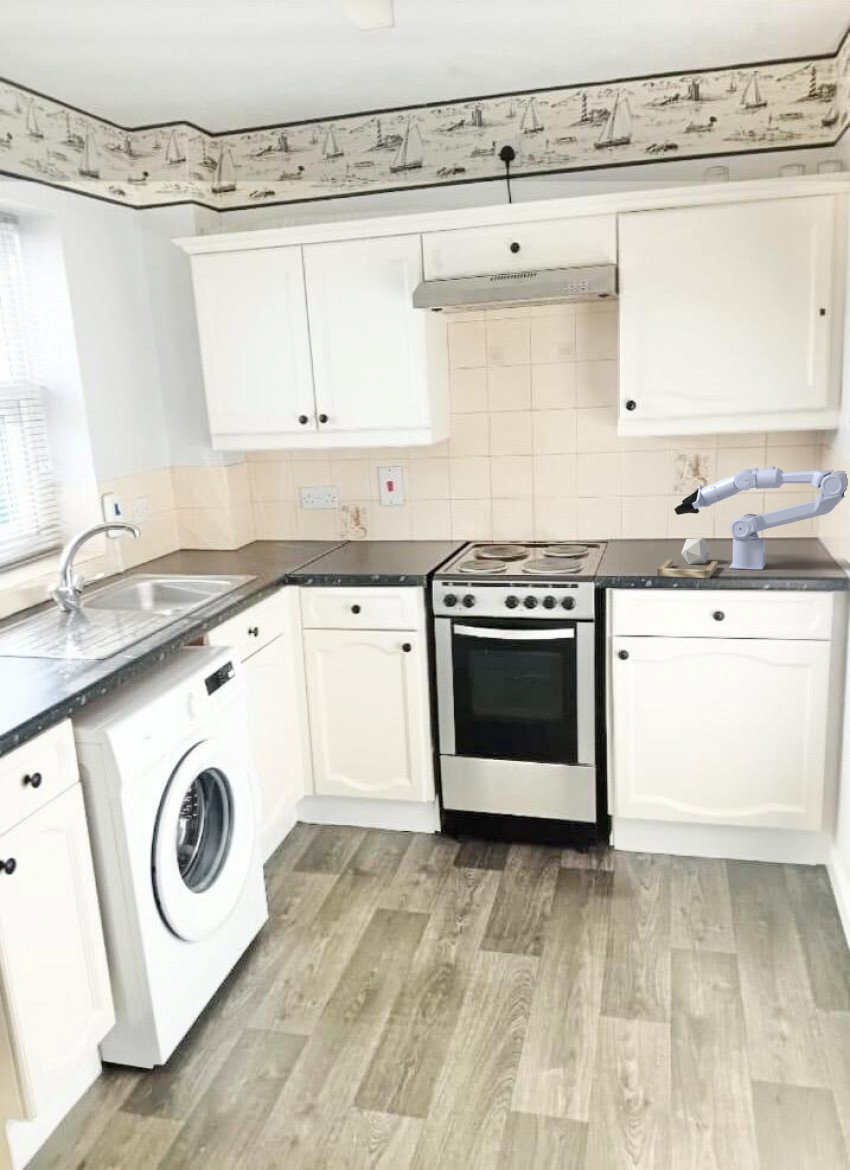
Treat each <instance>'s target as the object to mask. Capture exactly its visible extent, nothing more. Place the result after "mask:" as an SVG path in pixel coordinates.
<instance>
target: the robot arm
mask: <svg viewBox="0 0 850 1170" xmlns="http://www.w3.org/2000/svg"><path fill="white" fill-rule="evenodd" d="M845 472H847V471H846V470H837V471H835V470H833V469H814V470H813V469H812V470H803V471H802V470H800V471H799V470H798V471H789V472H788V471H783V470H782V469H781V468H779V467H778V468H776V466H774V465H773V466H769V468H758V467H753V468H752V469H751V468H747V469H746V468H745V469H744V470H740V471H739V472H737V473H736V474H733V475H731V476H727V477H726V478H722V479H720V480H718V481H715V482H714V483H711V484H709V485H706V486H704V487H703V485H702V484H699V485H698V486H697V489H696V490H695V491H694V492H692V493H691V494H690V495H688V496H686V497H685V498H684V499H683V500H681V504H679V505H678V506H677V505H676V507H675V508H674V512H675V514H676V515H678V516H679V515H684V514H699V512H700V509H699V508H708V507H710V506H712V505H714V504H715V503H718V502H721V501H723V500H725V499H728V498H731V497H732V496H736V495H737V494H738V493H739V492H742V491H745V492H746V491H749V490H750V489H753V488H755V489H757V490H759V489H760V490H761V489H780V488H781V487H782V485H784V484H811V485H812V486H814V487H815V488H816V489H819V493H818V495H817V496H816V499H815V500H812V501H811V500H810V501H807V502H802V503H799V504H795V505H791V506H787V507H785V508H781V509H780V508H779V509H776V510H772V511H770V512H769V511H768V512H765V513H764V512H763V513H759V514H754V513H747V514H744V515H743V516H741V517H738V518H736V519H734V520H732V522H731V524H730V527H729V529H730V533H731V535H732V562H731V564H730V565H729V569H735V570H736V569H737V570H739V569H740V570H741V569H742V570H759V571H760V570H764V568H765V566H766V562H767V561H766V560H767V557H766V552H767V551H766V550H767V549H766V546H767V541H766V539H765V538H760V537H759V535H758V532H761V531H764V530H767V529H771V528H776V527H780V526H783V525H788V524H791V523H795V522H799V521H803V520H808V519H812V518H816V517H820V516H823V515H827V514H829V513H830V512H832V511H833V510H834V509H835V508H836V506H837V505H838V504H839V503H840V502H841V501H843V499H844V498H845V497H846V496H844V492H845V491H846V490H847V486H848V478H847V474H846V473H845Z"/></svg>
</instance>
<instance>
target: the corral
mask: <svg viewBox="0 0 850 1170" xmlns="http://www.w3.org/2000/svg"><path fill="white" fill-rule="evenodd" d="M673 561H674V560H673V559H667V560H665V561H664V562H663V563H662V564H661V565H660V566H659V567H658V568H657V569H656V570H657V571H656V573H657V574H656V575H657V576H658V577H672V578H673V577H675V578H676V577H677V578H696V579H697V578H702V579H711V577H712V575H713V574H714V573H715V572H716V571H717V569H718V566H719V565H718V564H719V563H718V562H719V561H711V563H710V564H709V565H708V566H707V567H706V568H705V569H691V568H690V569H688V568H687V569H686V568H685V569H684V568H672V567H673V564H674V562H673Z"/></svg>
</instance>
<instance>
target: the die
mask: <svg viewBox="0 0 850 1170" xmlns="http://www.w3.org/2000/svg"><path fill="white" fill-rule="evenodd" d="M711 552H712V547H711V546H710V545H709V543H708V542H707V541H706V540H705V538H704V537H693V538H686V539H685V543H684V545H683V548H682V550H681V553H680V554H681V556H682V557H683V558H684V560H686V562H687V563H688V565H701V564H706V563H707V561H708V559H709V556H710V554H711Z"/></svg>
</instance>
